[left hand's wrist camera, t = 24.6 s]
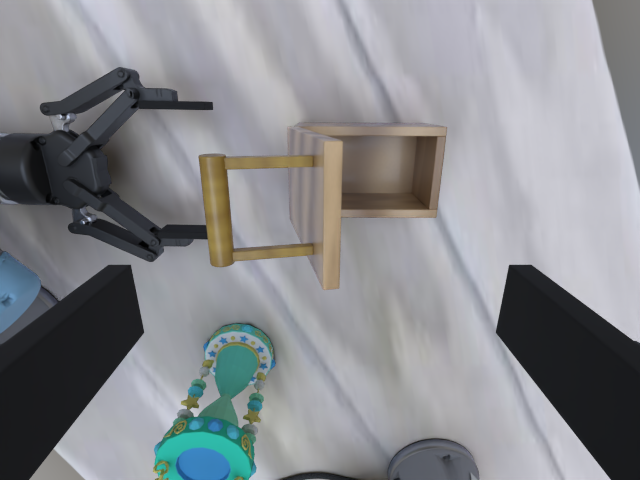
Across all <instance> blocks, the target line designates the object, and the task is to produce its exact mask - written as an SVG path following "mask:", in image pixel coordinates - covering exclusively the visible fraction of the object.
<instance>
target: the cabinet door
mask: <svg viewBox="0 0 640 480" xmlns="http://www.w3.org/2000/svg"><path fill="white" fill-rule="evenodd" d="M287 132H288V155H282V156H238V157H226V155H224V154H203V155H199V164H200V173H201V182H202V191H203V200H204V209H205V218H206V227H207V236H208V245H209V254H210V263H211V265H212V266H215V267H226V266H229V265H232V264H233V263H234V262H235V261H243V260H256V259H269V258H281V257H294V256H308V259H309V261H310V263H311V265H312V267H313V269H314V271H315V273H316V276H317V278H318V280H319V282H320V284H321V286H322V288H323V290H329V289H338V288H339V282H340V242H341V202H342V162H343V141H341V140H338V139H335V138H332V137H329V136H326V135H322V134H319V133H316V132H313V131H310V130H307V129H304V128H301V127H287ZM259 168H288V169H289V207H290V220H291V222H292V224H293V227H294V229H295V231H296V233H297V235H298V237H299V239H300V241H301V244H291V245H278V246H264V247H250V248H236V249H234V247H233V235H232V223H231V212H230V200H229V188H228V177H227V169H259Z"/></svg>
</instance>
